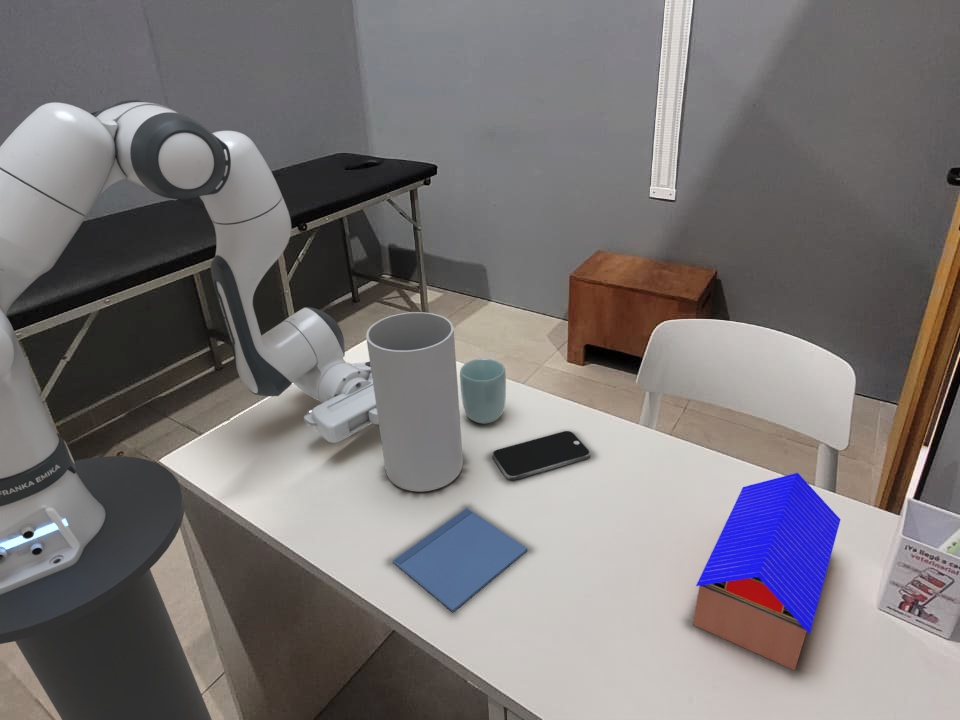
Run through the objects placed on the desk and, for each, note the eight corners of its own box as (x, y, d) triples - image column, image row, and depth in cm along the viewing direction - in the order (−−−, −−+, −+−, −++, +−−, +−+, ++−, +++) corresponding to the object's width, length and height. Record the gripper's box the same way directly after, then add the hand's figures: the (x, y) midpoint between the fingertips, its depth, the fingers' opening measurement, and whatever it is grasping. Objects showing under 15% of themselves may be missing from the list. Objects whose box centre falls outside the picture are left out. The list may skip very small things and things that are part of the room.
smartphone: (593, 454, 105) (508, 478, 101) (592, 457, 106) (508, 482, 101) (570, 428, 112) (489, 450, 107) (570, 432, 112) (490, 454, 107)
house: (689, 625, 77) (701, 554, 72) (735, 523, 92) (748, 457, 86) (797, 674, 71) (819, 601, 66) (828, 557, 85) (850, 488, 80)
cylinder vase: (377, 491, 101) (355, 350, 88) (396, 443, 111) (379, 311, 99) (456, 496, 99) (445, 352, 87) (468, 446, 110) (459, 312, 97)
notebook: (452, 612, 80) (452, 609, 80) (392, 562, 88) (392, 559, 88) (527, 550, 89) (527, 547, 89) (466, 509, 96) (466, 507, 96)
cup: (487, 434, 112) (485, 385, 108) (454, 419, 117) (450, 371, 112) (514, 414, 117) (514, 366, 113) (482, 400, 122) (480, 354, 117)
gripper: (294, 401, 107) (343, 433, 98) (391, 354, 119) (442, 378, 111) (301, 432, 110) (349, 465, 101) (395, 383, 122) (445, 409, 114)
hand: (399, 420), depth 106 cm, fingers closed, pressing on cylinder vase
